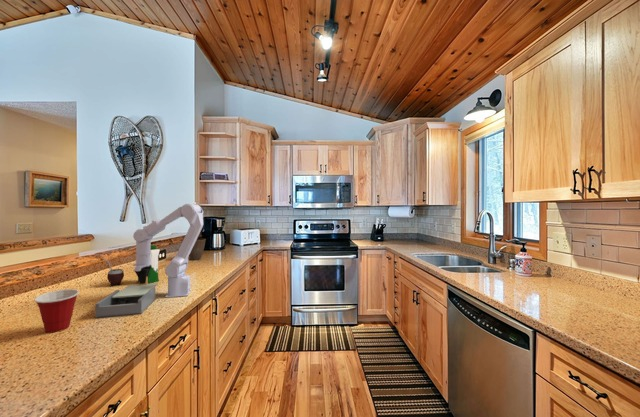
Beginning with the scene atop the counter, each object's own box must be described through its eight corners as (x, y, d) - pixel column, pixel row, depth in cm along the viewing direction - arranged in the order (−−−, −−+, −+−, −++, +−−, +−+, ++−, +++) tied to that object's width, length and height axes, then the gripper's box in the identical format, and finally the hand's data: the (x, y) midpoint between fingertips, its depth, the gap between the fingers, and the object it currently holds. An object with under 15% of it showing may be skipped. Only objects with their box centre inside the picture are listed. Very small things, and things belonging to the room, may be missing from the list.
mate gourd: (127, 283, 143) (127, 255, 143) (114, 287, 135) (114, 258, 135) (114, 282, 144) (114, 255, 144) (101, 287, 136) (101, 258, 136)
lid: (157, 284, 127) (158, 275, 127) (145, 295, 111) (145, 285, 111) (129, 286, 123) (129, 277, 123) (111, 298, 107) (111, 288, 107)
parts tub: (155, 299, 118) (155, 287, 118) (141, 314, 102) (141, 300, 102) (116, 302, 114) (116, 290, 114) (95, 318, 98) (95, 303, 98)
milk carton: (161, 280, 148) (161, 245, 148) (145, 285, 140) (145, 247, 140) (150, 279, 151) (150, 244, 151) (134, 283, 143) (134, 246, 143)
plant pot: (191, 262, 200) (191, 241, 200) (180, 259, 208) (181, 239, 208) (209, 259, 212) (209, 239, 212) (198, 257, 220) (198, 238, 220)
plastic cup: (26, 339, 82) (26, 301, 82) (43, 325, 91) (43, 291, 91) (72, 332, 87) (72, 296, 87) (83, 320, 96) (83, 287, 96)
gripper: (139, 252, 130) (139, 279, 130) (127, 257, 116) (126, 288, 116) (155, 251, 132) (155, 278, 132) (145, 256, 118) (145, 286, 118)
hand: (143, 283), depth 124 cm, fingers closed on lid
